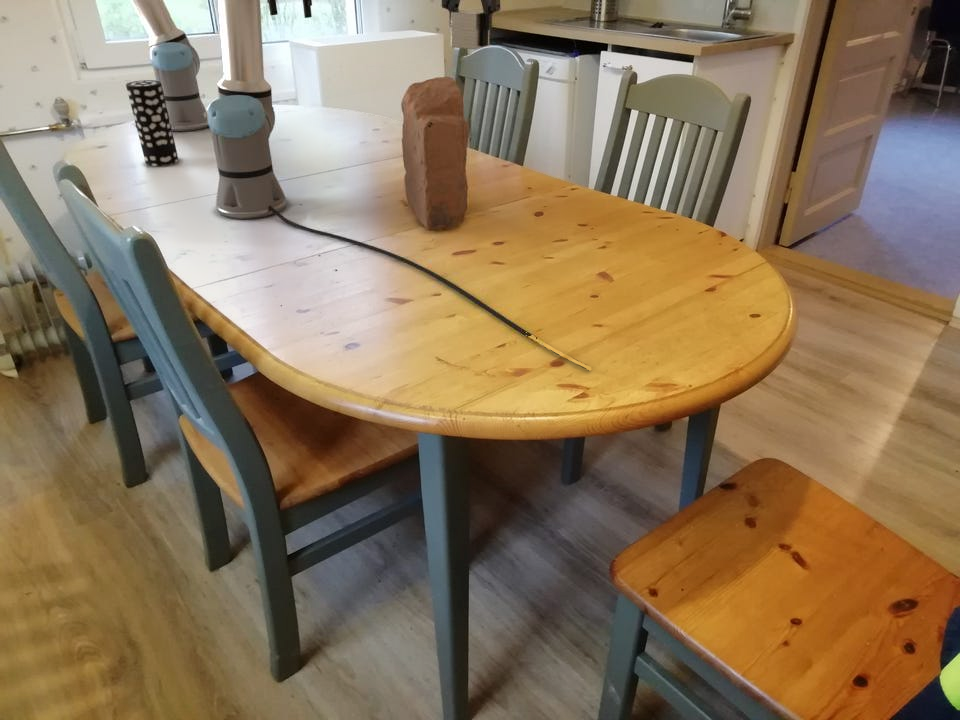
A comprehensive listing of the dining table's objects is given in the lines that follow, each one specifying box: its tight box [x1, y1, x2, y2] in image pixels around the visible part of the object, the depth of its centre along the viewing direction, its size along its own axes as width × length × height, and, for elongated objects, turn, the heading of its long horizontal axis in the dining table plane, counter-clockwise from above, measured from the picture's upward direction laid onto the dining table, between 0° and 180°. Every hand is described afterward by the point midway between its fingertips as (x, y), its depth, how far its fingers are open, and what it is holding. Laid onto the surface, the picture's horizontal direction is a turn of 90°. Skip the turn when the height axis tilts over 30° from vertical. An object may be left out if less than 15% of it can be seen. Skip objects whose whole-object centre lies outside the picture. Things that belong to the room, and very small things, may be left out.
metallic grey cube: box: [450, 8, 491, 50], centre depth 158 cm, size 6×7×7 cm
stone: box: [400, 76, 469, 231], centre depth 148 cm, size 22×11×28 cm, turn 18°
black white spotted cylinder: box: [125, 79, 179, 167], centre depth 181 cm, size 8×8×20 cm
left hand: (291, 16), depth 222 cm, fingers open, 13 cm apart
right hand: (470, 44), depth 160 cm, fingers closed on metallic grey cube, 6 cm apart
